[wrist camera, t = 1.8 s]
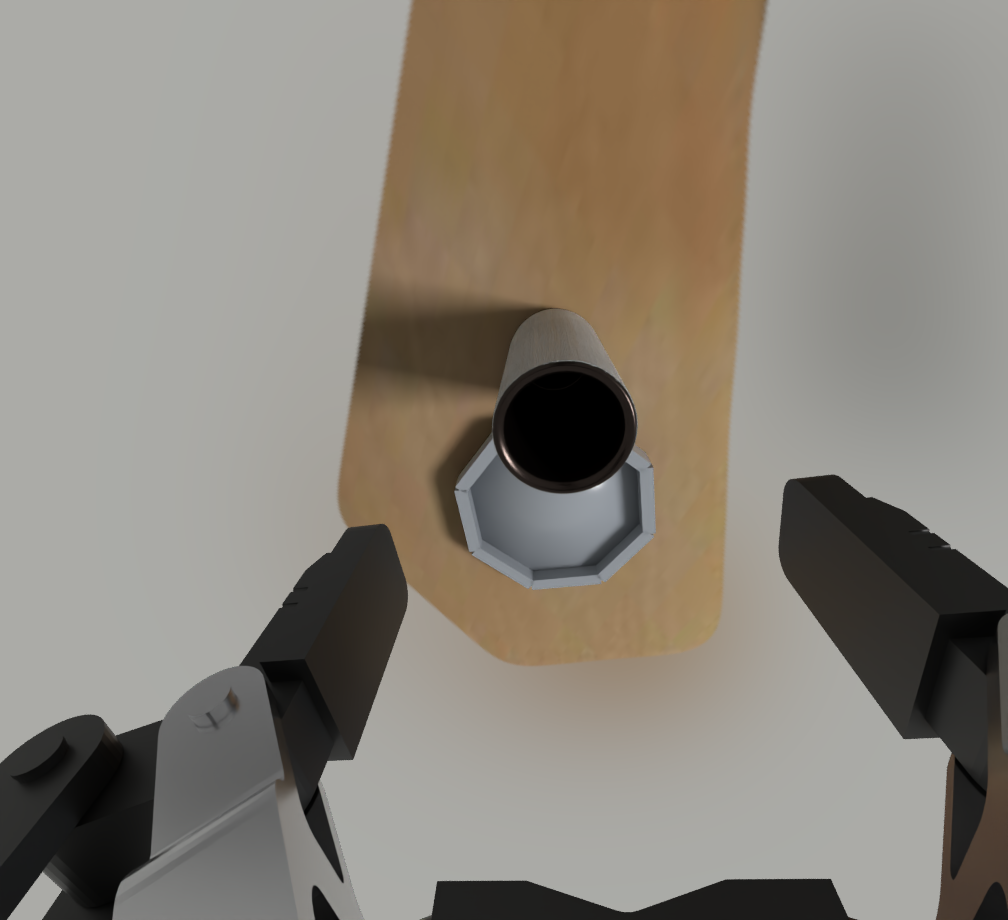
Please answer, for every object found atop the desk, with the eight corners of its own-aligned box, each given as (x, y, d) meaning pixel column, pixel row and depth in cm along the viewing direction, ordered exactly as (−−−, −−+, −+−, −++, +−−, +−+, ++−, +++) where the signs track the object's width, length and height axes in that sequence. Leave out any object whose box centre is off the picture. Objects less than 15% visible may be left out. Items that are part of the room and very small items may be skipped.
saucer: (445, 427, 26) (440, 437, 25) (645, 399, 24) (651, 409, 23) (482, 579, 30) (479, 594, 29) (652, 563, 29) (657, 578, 28)
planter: (616, 363, 24) (666, 448, 15) (542, 412, 25) (545, 518, 16) (566, 288, 22) (586, 328, 13) (491, 344, 24) (461, 416, 15)
